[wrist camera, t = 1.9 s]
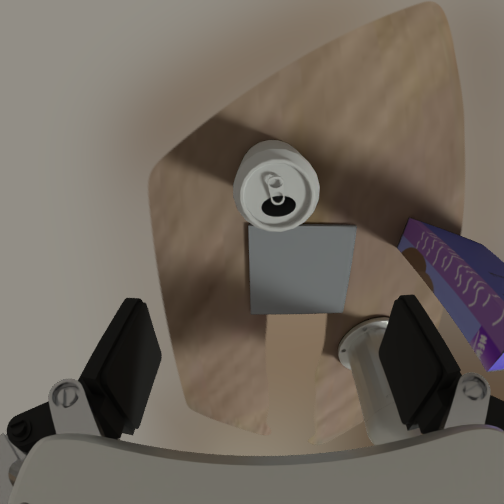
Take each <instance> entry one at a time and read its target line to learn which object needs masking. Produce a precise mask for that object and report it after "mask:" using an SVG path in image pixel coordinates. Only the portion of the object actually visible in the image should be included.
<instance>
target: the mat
mask: <svg viewBox="0 0 504 504" xmlns="http://www.w3.org/2000/svg"><path fill="white" fill-rule="evenodd" d="M248 228H249V266H250V302H251V314H313V313H314V314H316V313H343V309H344V304H345V298H346V293H347V288H348V282H349V276H350V270H351V264H352V257H353V251H354V244H355V237H356V229H357V226H356V225H325V224H300V225H299V226H297V227H295V228H293V229H290V230H286V231H282V232H274V231H266V230H263V229H260V228H257V227H255V226H254V225H252V224H249V226H248Z"/></svg>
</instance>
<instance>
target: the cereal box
mask: <svg viewBox="0 0 504 504" xmlns="http://www.w3.org/2000/svg"><path fill="white" fill-rule="evenodd" d="M397 248H398V250H399V251H400V252H401V253H402V254H403V256H404V257H405V258H406V259H407V260H408V261H409V263H410V264H411V265H412V266H413V268H414V269H415V270H416V271H417V272H418V274H419V275H420V276H421V277H422V279H423V280H424V281H425V283H426V284H427V285H428V286H429V288H430V289H431V290H432V292H433V293H434V294H435V296H436V297H437V298H438V300H439V301H440V302H441V304H442V305H443V306H444V308H445V309H446V310H447V312H448V313H449V315H450V316H451V317H452V319H453V320H454V322H455V323H456V324H457V326H458V327H459V329H460V330H461V332H462V333H463V335H464V336H465V338H466V339H467V341H468V342H469V344H470V345H471V347H472V349H473V350H474V352H475V353H476V355H477V356H478V358H479V360H480V361H481V363H482V365H483V366H484V368H485V369H486V371H487V372H491V371H499V370H504V262H502V261H501V260H500V259H499V258H498V257H497V256H496V255H494V254H493V253H492V252H491V251H490V250H488V249H487V248H486V247H485V246H484V245H482V244H479V243H477V242H475V241H472V240H470V239H467V238H465V237H462V236H460V235H457V234H454V233H452V232H449V231H446V230H444V229H441V228H438V227H435V226H433V225H430V224H427V223H424V222H421V221H418V220H415V219H412V218H409V219H408V221H407V224H406V226H405V229H404V231H403V234H402V236H401V239H400V241H399V244H398V246H397Z"/></svg>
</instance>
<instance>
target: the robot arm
mask: <svg viewBox="0 0 504 504" xmlns="http://www.w3.org/2000/svg"><path fill="white" fill-rule="evenodd" d="M338 356H339V360H340V362H341V363H342V365H343V366H345V367H346V368H348V369H350V370H352V374H353V378H354V381H355V385H356V389H357V393H358V397H359V401H360V405H361V409H362V413H363V417H364V421H365V425H366V430H367V434H368V436H369V438H370V440H371V441H372V442H373V444H375V446H370V447H364V448H358V449H352V450H345V451H337V452H328V453H319V454H307V455H291V456H233V455H215V454H204V453H194V452H185V451H177V450H171V449H164V448H158V447H152V446H146V445H141V444H135V443H130V442H126V441H121V440H120V437H121V434H122V433H125V434H129V435H133V434H134V430H135V429H138V428H139V426H140V423H141V420H142V417H143V414H144V411H145V407H146V404H147V401H148V398H149V395H150V392H151V389H152V386H153V383H154V379H155V376H156V374H157V370H158V368H159V365H160V361H161V351H160V347H159V344H158V341H157V338H156V335H155V331H154V328H153V325H152V321H151V318H150V315H149V312H148V308H147V305H146V303H143V302H142V300H141V299H139V298H126V299H125V300H124V302H123V303H122V305H121V306H120V308H119V310H118V311H117V313H116V315H115V316H114V318H113V320H112V321H111V323H110V325H109V326H108V328H107V330H106V331H105V333H104V335H103V336H102V338H101V340H100V341H99V343H98V345H97V347H96V349H95V350H94V352H93V354H92V356H91V357H90V359H89V361H88V363H87V365H86V367H85V368H84V370H83V372H82V374H81V376H80V378H79V380H78V381H77V380H74V379H64V380H61V381H59V382H57V383H56V384H55V385H54V386H53V387H52V388H51V390H50V392H49V396H48V399H49V401H48V402H46V403H44V404H42V405H39V406H37V407H35V408H32V409H30V410H28V411H26V412H24V413H21V414H19V415H17V416H15V417H13V418H12V419H11V421H10V422H9V424H8V427H7V434H6V435H5V434H4V433H2V434H1V435H0V504H504V401H502V400H500V399H498V398H496V397H493V396H491V395H490V387H489V384H488V382H487V381H486V379H485V378H484V377H482V376H481V375H479V374H477V373H466V374H464V375H463V376H462V375H461V373H460V368H459V366H458V364H457V362H456V361H455V359H454V357H453V355H452V354H451V352H450V350H449V348H448V347H447V345H446V343H445V342H444V340H443V338H442V337H441V335H440V333H439V332H438V330H437V329H436V327H435V325H434V324H433V322H432V321H431V319H430V318H429V316H428V314H427V313H426V311H425V310H424V308H423V307H422V305H421V304H420V302H419V301H418V299H417V298H416V296H415V295H401V296H399V298H398V300H395V302H394V304H393V308H392V311H391V314H390V318H387V317H380V318H374V319H370V320H367V321H364V322H362V323H360V324H358V325H357V326H355V327H354V328H352V329H351V330H350V331H349V332H348V333H347V334H346V335H345V336H344V337H343V339H342V340H341V342H340V344H339V347H338Z"/></svg>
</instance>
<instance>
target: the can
mask: <svg viewBox="0 0 504 504" xmlns="http://www.w3.org/2000/svg"><path fill="white" fill-rule="evenodd" d="M319 190H320V186H319V182H318V178H317V174H316V172H315V171H314V169H313V168H312V166H311V165H310V163H309V162H308V161H307V160H306V159H305V158H304V157H303V156H302V155H301V154H300V153H299V152H298V151H297V150H296V149H295V148H293V147H292V146H291V145H289V144H288V143H285V142H282V141H279V140H266V141H263V142H259V143H257V144H256V145H254V146H253V147H252V148H250V149H249V151H248V152H247V153H246V154H245V156H244V158H243V160H242V162H241V165H240V167H239V169H238V172H237V175H236V178H235V181H234V184H233V198H234V200H235V203H236V206H237V209H238V211H239V212H240V213H241V215H242V216H243V217H244V218H245V220H246V221H248V222H249V223H251V224H252V225H254V226H255V227H257V228H260V229H263V230H266V231H274V232H282V231H286V230H290V229H293V228H295V227H297V226H299V225H300V224H302V223H304V222H305V221H306V220H307V219H308V218H309V217H310V215H311V214H312V213H313V212H314V210H315V207H316V205H317V203H318V200H319Z"/></svg>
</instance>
